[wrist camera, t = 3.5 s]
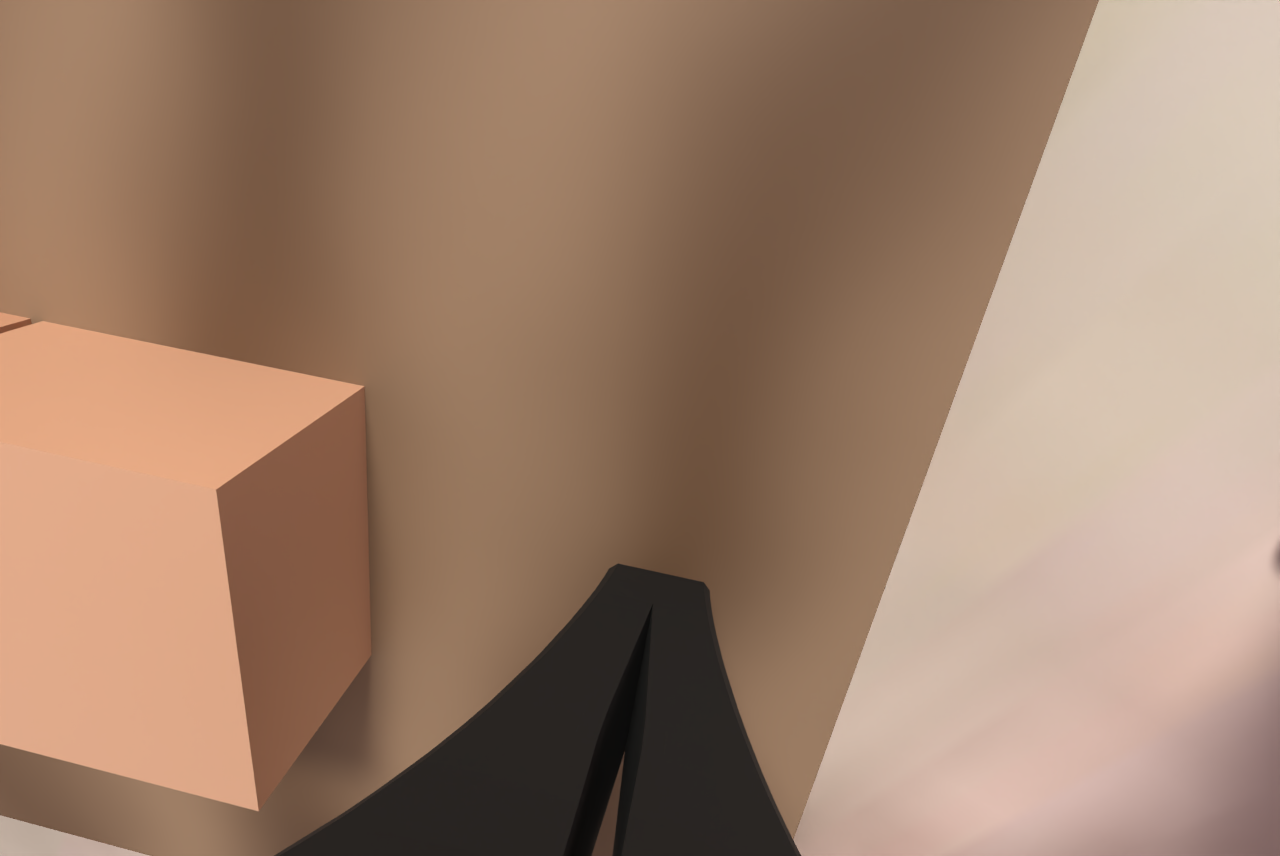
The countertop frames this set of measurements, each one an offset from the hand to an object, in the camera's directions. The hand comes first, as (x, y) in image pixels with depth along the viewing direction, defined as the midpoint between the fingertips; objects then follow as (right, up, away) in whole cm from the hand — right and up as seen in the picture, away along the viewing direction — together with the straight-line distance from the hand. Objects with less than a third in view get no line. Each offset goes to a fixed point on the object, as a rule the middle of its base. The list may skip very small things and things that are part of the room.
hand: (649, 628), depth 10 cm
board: (-5, +2, +3) cm, 6 cm away
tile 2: (-7, +2, +1) cm, 7 cm away
